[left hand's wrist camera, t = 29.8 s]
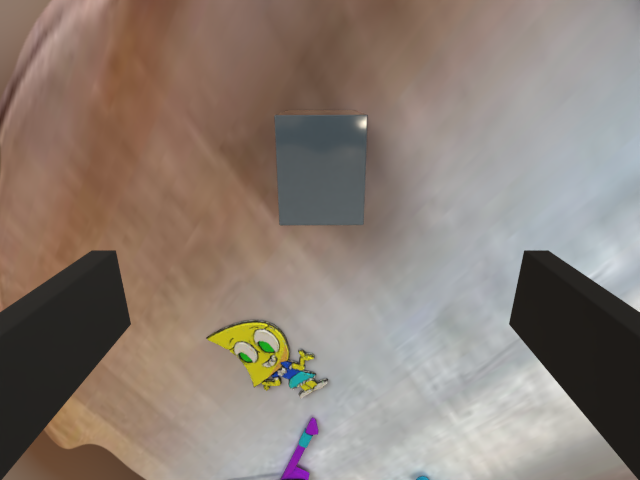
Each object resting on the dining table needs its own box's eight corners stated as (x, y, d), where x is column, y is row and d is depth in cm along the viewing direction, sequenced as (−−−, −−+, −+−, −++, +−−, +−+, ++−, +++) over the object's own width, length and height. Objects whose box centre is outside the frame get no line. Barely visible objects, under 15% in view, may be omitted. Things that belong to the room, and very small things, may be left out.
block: (289, 194, 43) (279, 225, 33) (286, 110, 40) (274, 115, 30) (353, 194, 43) (363, 225, 33) (355, 109, 40) (367, 114, 30)
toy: (274, 414, 54) (204, 341, 49) (274, 410, 54) (206, 337, 50) (333, 381, 52) (266, 302, 47) (333, 377, 52) (267, 299, 48)
